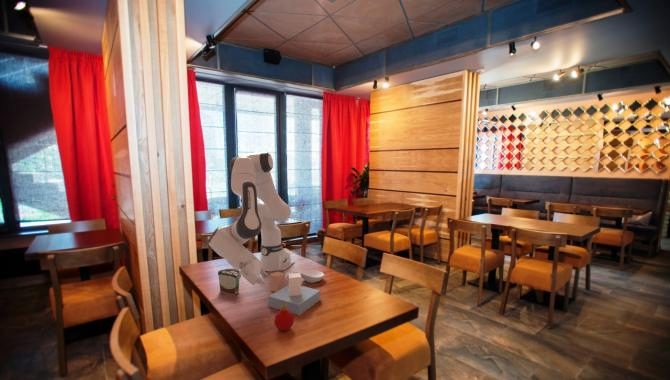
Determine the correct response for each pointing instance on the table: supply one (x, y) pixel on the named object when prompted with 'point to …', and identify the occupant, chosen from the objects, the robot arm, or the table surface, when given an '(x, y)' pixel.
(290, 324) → the christmas ornament
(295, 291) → the off-white column
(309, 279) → the spoon rest
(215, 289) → the table surface
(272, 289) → the terracotta column
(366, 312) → the table surface
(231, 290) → the food container
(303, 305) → the slate plinth block
